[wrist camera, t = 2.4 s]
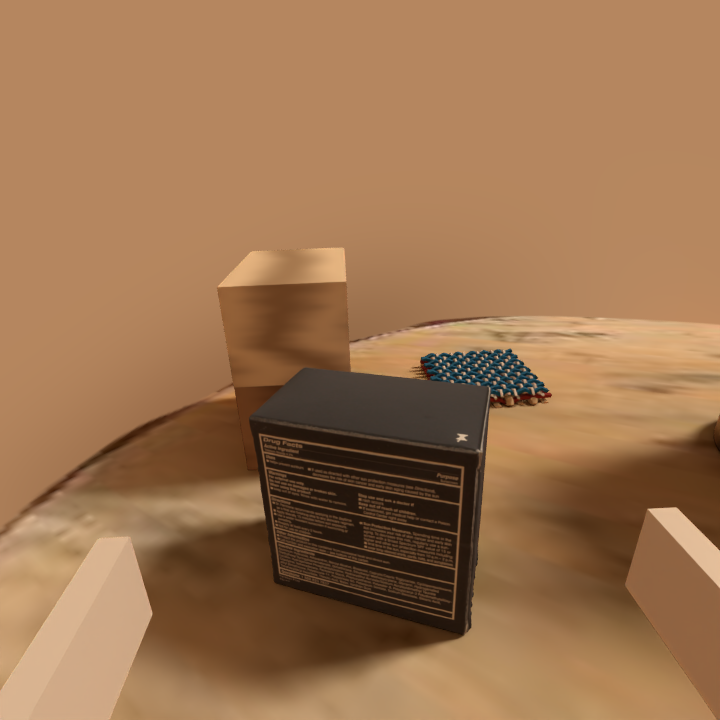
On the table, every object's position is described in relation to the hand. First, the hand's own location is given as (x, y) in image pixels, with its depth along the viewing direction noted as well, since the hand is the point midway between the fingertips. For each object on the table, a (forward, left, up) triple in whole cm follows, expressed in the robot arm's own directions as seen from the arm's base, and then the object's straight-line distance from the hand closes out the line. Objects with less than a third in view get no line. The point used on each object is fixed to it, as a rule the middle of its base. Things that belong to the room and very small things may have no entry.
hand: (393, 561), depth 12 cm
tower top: (+5, -25, -4) cm, 26 cm away
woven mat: (-12, -31, -12) cm, 36 cm away
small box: (0, -10, -11) cm, 15 cm away
